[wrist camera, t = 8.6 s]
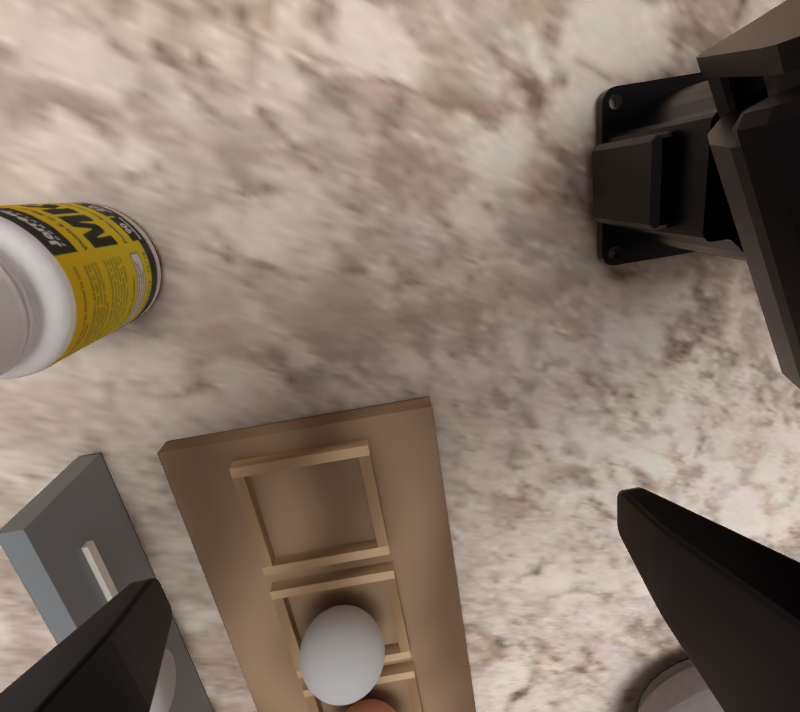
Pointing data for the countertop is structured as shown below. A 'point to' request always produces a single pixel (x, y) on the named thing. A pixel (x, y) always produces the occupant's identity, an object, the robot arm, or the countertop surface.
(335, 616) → the grey ball
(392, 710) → the terracotta ball
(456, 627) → the rack
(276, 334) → the countertop surface
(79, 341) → the supplement bottle
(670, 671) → the coffee pot
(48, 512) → the card
